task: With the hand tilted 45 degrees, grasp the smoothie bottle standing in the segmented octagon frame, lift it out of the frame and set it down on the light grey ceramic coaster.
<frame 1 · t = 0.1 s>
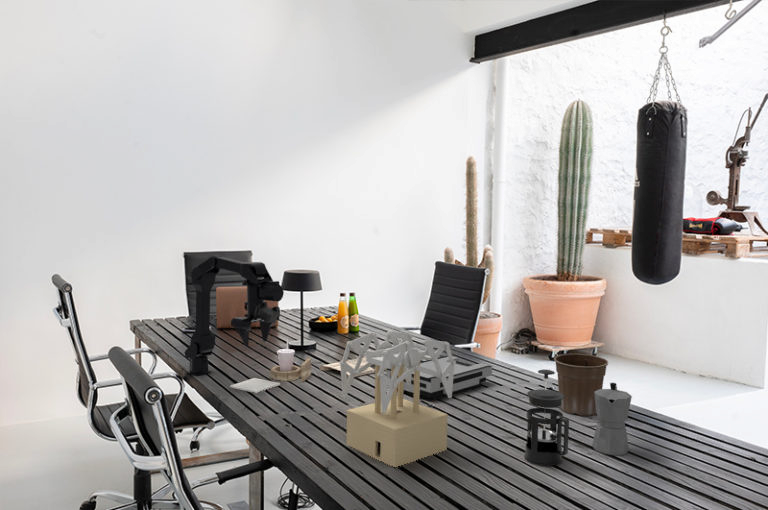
hand: (255, 343, 230), 15 cm above the table, tool pointing down, fingers open, 9 cm apart
coffeepot: (610, 448, 178), on the table
plant pot: (578, 410, 209), on the table
segmented octagon frame: (285, 376, 242), on the table
french press: (544, 460, 169), on the table
smoothie: (285, 377, 242), resting in segmented octagon frame
game console: (439, 388, 233), on the table
kinetic sculpture: (395, 448, 176), on the table
coaster: (255, 386, 230), on the table
newspaper: (369, 367, 260), on the table
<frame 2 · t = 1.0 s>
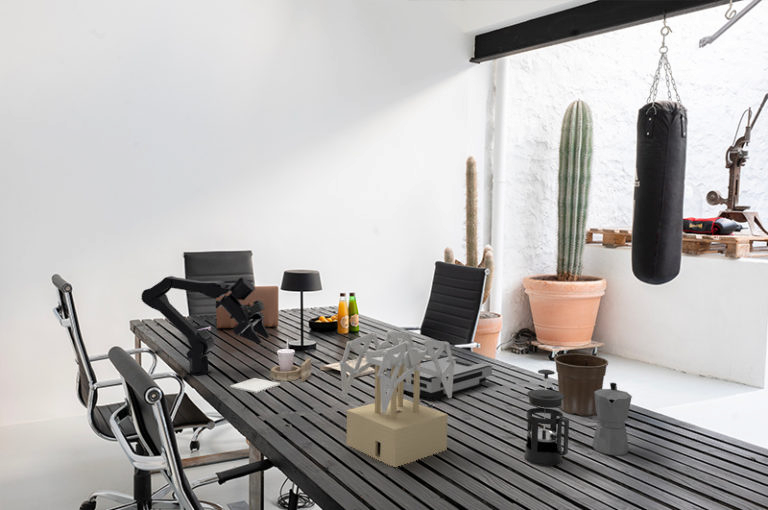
hand: (264, 340, 242), 13 cm above the table, tool tilted 45°, fingers open, 9 cm apart
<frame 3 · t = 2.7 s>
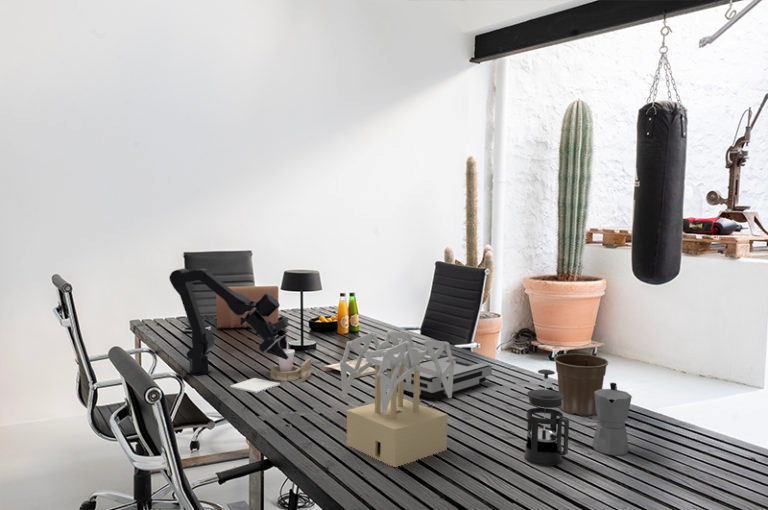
hand: (289, 356, 241), 8 cm above the table, tool tilted 45°, fingers closed on smoothie, 6 cm apart
smoothie: (286, 377, 242), resting in segmented octagon frame, touching gripper
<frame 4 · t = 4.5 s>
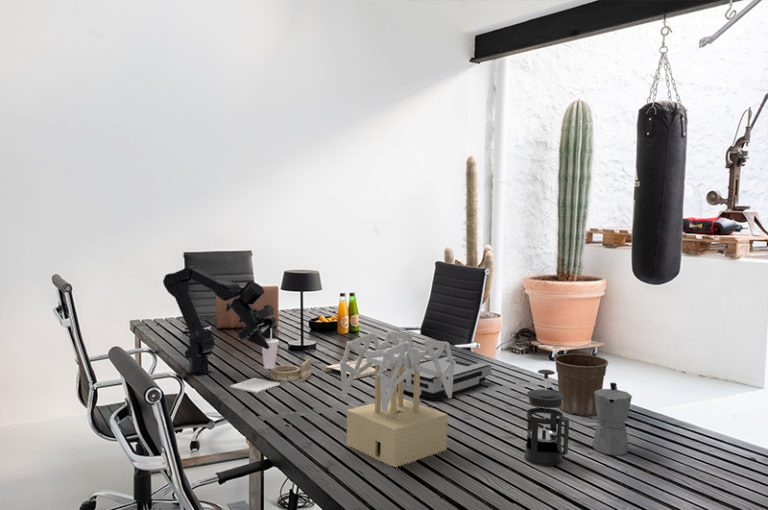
hand: (273, 346, 233), 13 cm above the table, tool tilted 45°, fingers closed on smoothie, 6 cm apart
smoothie: (269, 368, 234), point 5 cm above the table, touching gripper
when the fingers open (9 cm above the table, at t = 6.1 s): smoothie stays where it is, resting on coaster.
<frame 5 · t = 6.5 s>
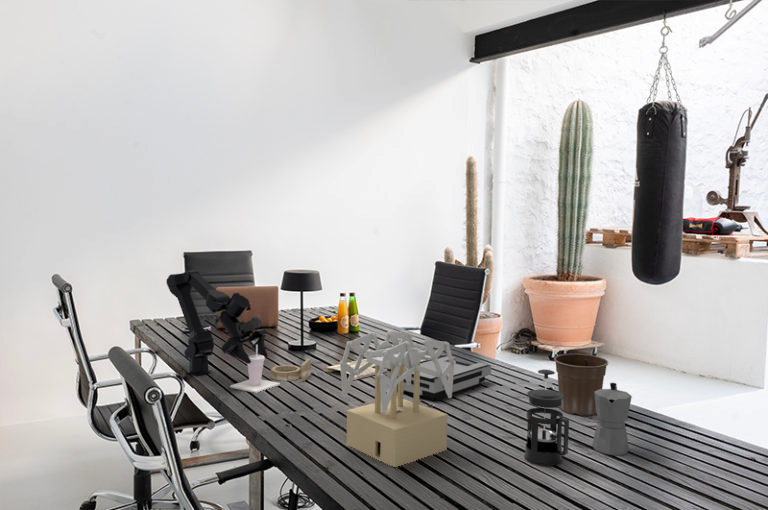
hand: (258, 360, 229), 9 cm above the table, tool tilted 45°, fingers open, 9 cm apart
smoothie: (255, 384, 230), resting on coaster
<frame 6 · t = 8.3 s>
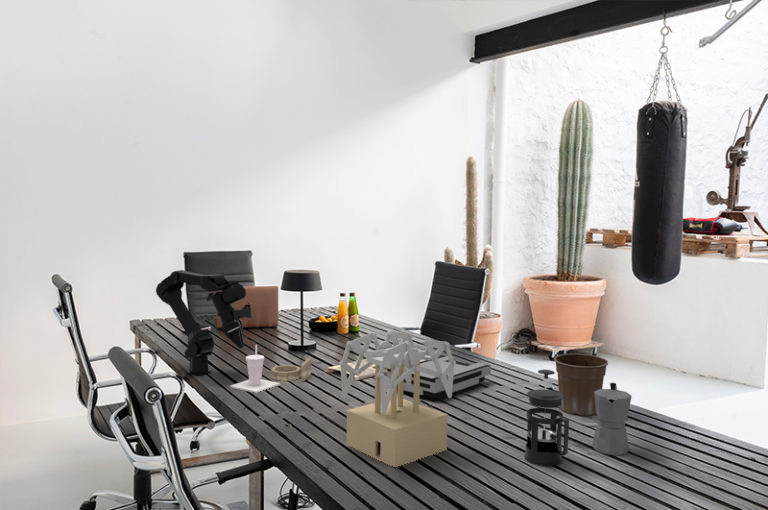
hand: (242, 347, 238), 12 cm above the table, tool tilted 25°, fingers open, 9 cm apart
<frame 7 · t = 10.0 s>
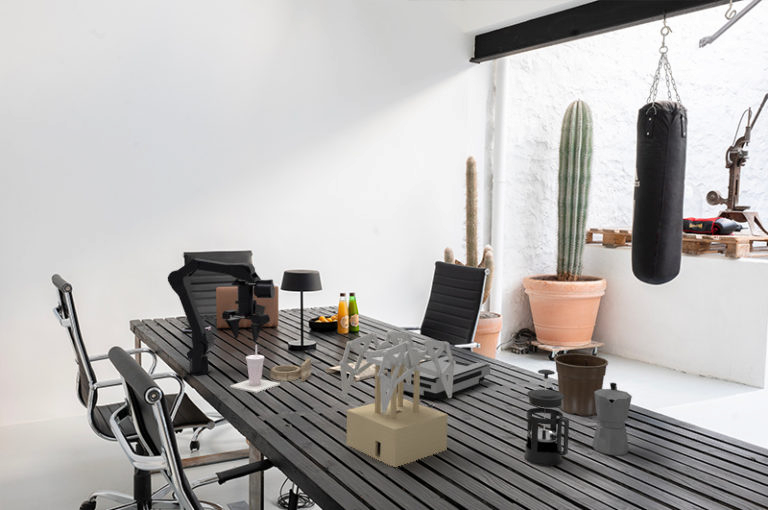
hand: (245, 339, 243), 13 cm above the table, tool pointing down, fingers open, 9 cm apart
at the end: smoothie inside the target area on the coaster (0.1 cm from its centre), point 0.4 cm above the coaster's base; smoothie tilted 0°; the gripper is holding nothing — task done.
